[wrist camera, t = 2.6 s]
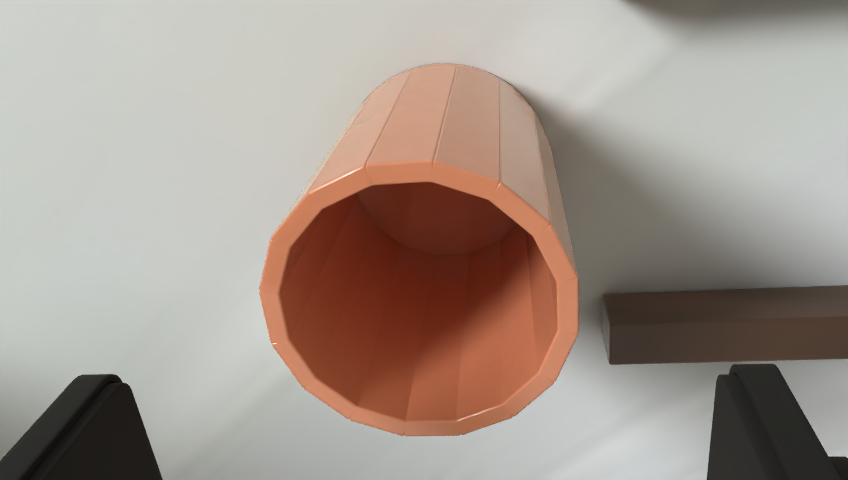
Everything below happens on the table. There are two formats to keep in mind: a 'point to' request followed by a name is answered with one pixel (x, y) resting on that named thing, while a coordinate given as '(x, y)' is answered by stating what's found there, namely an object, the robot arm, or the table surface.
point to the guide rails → (726, 325)
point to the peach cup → (427, 260)
